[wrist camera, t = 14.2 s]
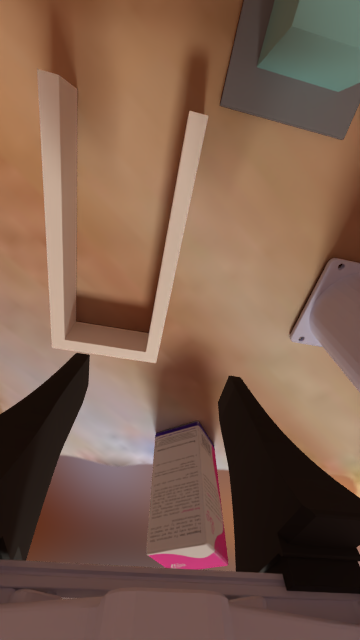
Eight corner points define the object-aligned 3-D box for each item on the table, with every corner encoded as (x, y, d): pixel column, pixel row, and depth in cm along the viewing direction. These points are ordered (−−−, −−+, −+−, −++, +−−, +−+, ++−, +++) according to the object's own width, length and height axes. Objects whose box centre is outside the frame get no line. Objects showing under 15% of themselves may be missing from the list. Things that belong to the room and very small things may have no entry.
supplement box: (153, 433, 31) (143, 556, 22) (198, 419, 30) (210, 542, 20) (173, 458, 34) (172, 577, 24) (215, 446, 33) (233, 566, 23)
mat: (427, -60, 12) (433, -65, 12) (340, 139, 16) (343, 139, 16) (271, -123, 11) (273, -130, 11) (219, 105, 15) (220, 104, 15)
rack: (203, 123, 16) (208, 115, 13) (157, 343, 24) (155, 363, 22) (59, 84, 15) (37, 68, 12) (64, 328, 23) (52, 347, 21)
